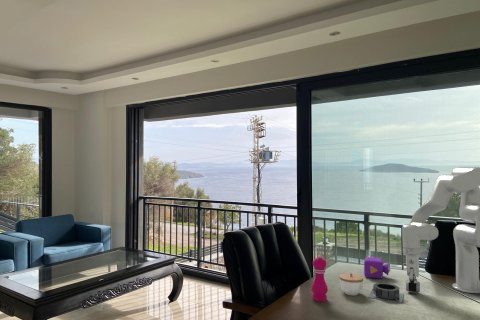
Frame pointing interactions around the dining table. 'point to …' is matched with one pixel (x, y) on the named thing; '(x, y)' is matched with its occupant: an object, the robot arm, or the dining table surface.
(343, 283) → the lidded jar
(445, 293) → the dining table surface
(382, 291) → the lens barrel
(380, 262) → the toy camera
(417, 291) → the grey rounded dome
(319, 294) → the pepper mill
